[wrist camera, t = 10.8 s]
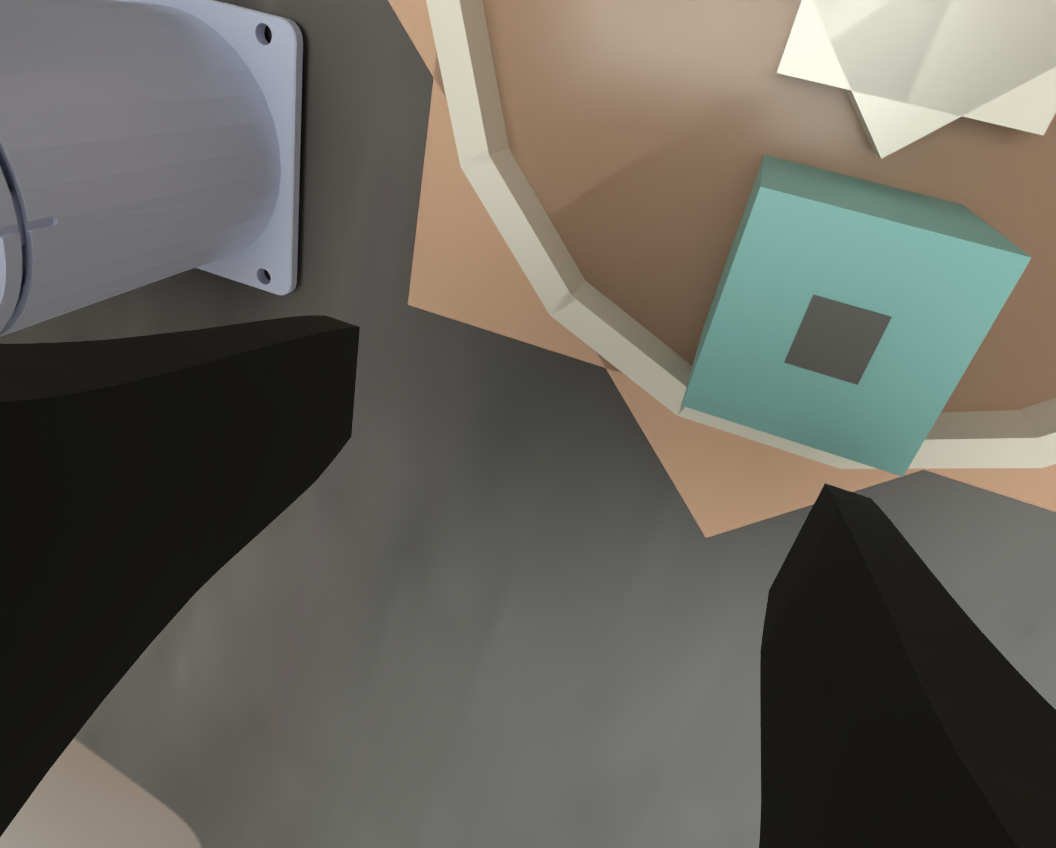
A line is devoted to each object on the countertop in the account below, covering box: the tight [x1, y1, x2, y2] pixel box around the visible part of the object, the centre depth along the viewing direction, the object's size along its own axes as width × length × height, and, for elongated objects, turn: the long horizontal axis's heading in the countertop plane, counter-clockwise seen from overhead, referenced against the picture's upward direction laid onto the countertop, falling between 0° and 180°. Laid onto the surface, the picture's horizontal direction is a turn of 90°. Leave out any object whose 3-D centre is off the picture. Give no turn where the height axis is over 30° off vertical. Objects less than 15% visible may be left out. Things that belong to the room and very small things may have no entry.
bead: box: [682, 154, 1031, 477], centre depth 15 cm, size 4×4×5 cm
